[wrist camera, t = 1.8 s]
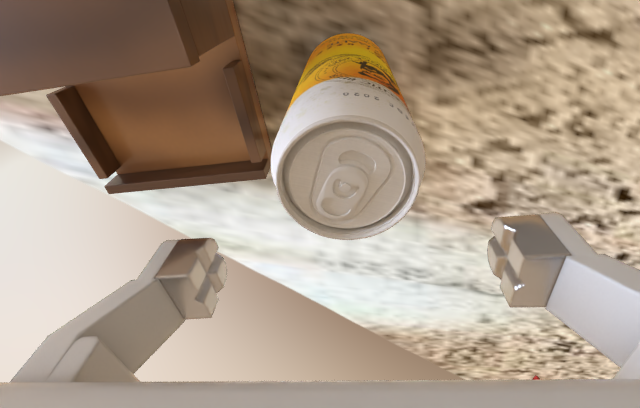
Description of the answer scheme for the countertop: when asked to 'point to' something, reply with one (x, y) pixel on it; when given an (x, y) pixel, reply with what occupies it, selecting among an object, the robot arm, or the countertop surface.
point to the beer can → (347, 144)
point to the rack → (142, 86)
